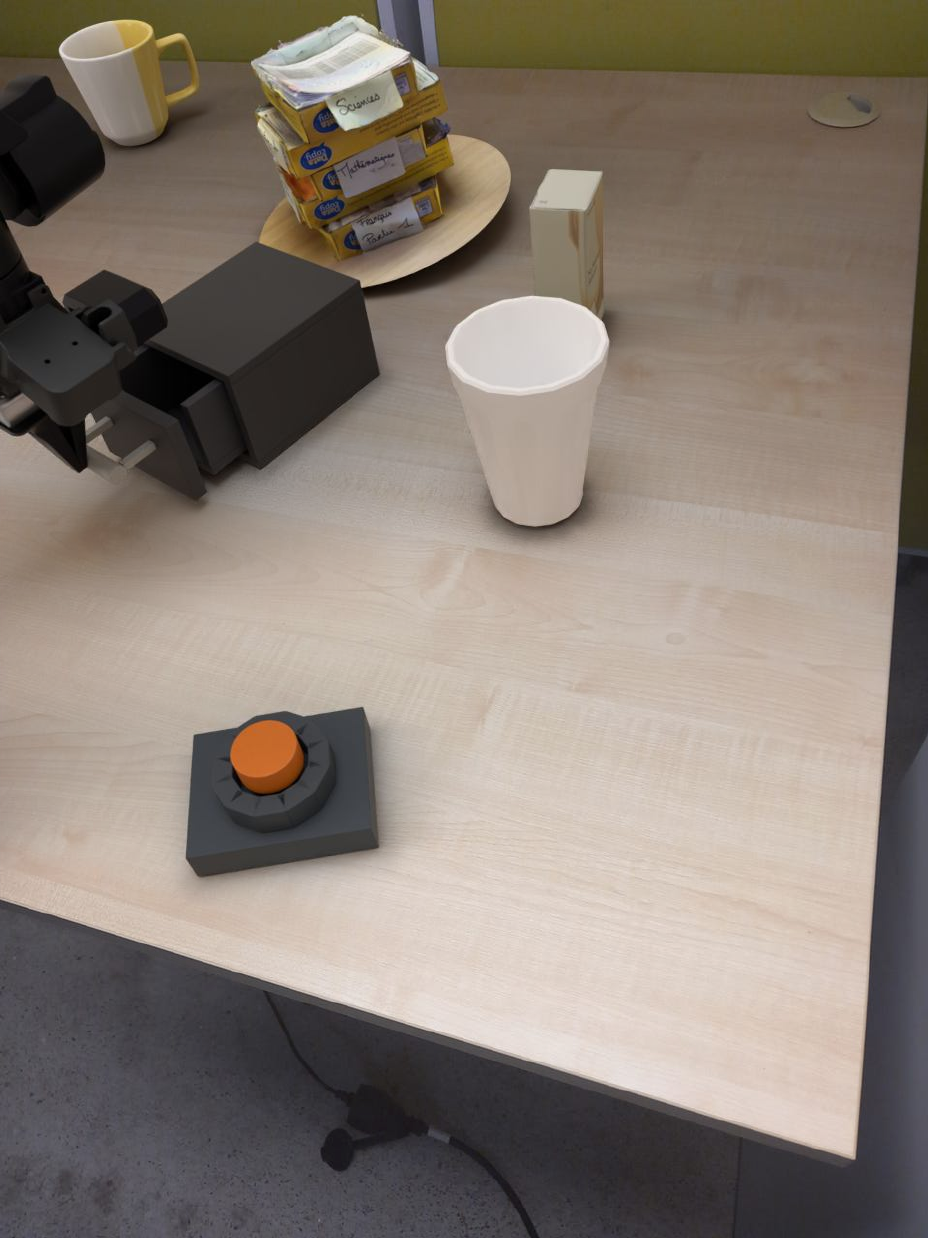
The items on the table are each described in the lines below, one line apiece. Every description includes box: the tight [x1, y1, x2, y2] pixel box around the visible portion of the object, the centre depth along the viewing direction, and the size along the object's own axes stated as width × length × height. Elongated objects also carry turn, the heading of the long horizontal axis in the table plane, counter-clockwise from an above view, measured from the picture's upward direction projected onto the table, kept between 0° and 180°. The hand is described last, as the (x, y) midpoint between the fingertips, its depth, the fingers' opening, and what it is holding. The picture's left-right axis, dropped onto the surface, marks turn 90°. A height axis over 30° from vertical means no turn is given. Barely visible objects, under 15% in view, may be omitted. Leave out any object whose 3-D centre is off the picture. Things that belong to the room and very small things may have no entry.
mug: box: [58, 19, 201, 147], centre depth 114 cm, size 14×10×10 cm
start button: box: [230, 720, 304, 794], centre depth 55 cm, size 4×4×2 cm
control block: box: [185, 706, 380, 878], centre depth 57 cm, size 10×8×4 cm
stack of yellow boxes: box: [250, 13, 512, 289], centre depth 92 cm, size 25×25×17 cm
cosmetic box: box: [529, 168, 605, 321], centre depth 80 cm, size 6×4×12 cm
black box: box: [137, 241, 380, 470], centre depth 80 cm, size 14×12×9 cm
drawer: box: [86, 344, 248, 502], centre depth 76 cm, size 17×10×7 cm, turn 141°
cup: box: [444, 295, 610, 527], centre depth 67 cm, size 10×10×13 cm
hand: (79, 468), depth 72 cm, fingers closed
